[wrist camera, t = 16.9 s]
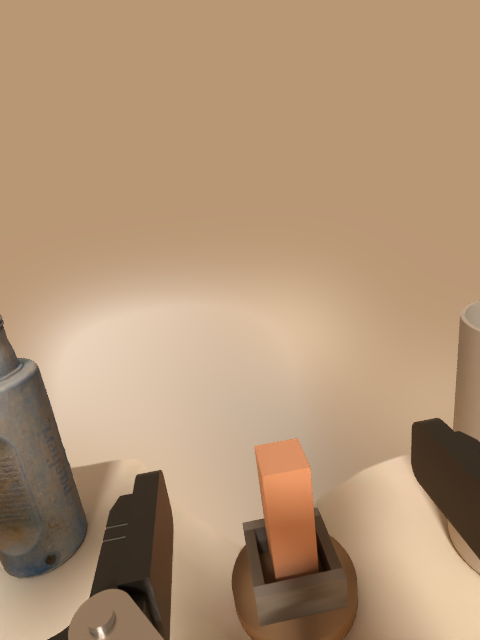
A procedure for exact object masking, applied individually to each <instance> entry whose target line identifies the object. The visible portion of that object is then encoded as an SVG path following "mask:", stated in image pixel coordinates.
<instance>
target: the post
mask: <svg viewBox="0 0 480 640" xmlns="http://www.w3.org/2000/svg"><path fill="white" fill-rule="evenodd" d="M255 454H256V461H257V469H258V476H259V484H260V491H261V498H262V505H263V513H264V520H265V528H266V535H267V542H268V549H269V557H270V563H271V567H272V572H273V576H274V581H275V582H280V581H284V580H289V579H293V578H298V577H303V576H307V575H312V574H316V573H319V567H318V555H317V543H316V531H315V519H314V507H313V495H312V484H311V471H310V466H309V463H308V461H307V459H306V457H305V454H304V452H303V450H302V447H301V445H300V443H299V440H298V439H291V440H286V441H280V442H275V443H269V444H264V445H259V446H255Z"/></svg>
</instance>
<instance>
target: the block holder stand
mask: <svg viewBox="0 0 480 640" xmlns="http://www.w3.org/2000/svg"><path fill="white" fill-rule="evenodd" d="M314 519H315V531H316V543H317V555H318V567H319V573H316V574H312V575H307V576H303V577H298V578H293V579H289V580H284V581H280V582H275V581H274V576H273V572H272V567H271V563H270V557H269V549H268V542H267V535H266V528H265V520H264V519H260V520H255V521H250V522H245V523H243V529H244V535H245V541H246V545H245V546H244V548H243V549H242V551H241V552H240V554H239V555H238V557H237V559H236V562H235V565H234V569H233V573H232V590H233V595H234V601H235V606H236V611H237V614H238V617H239V620H240V622H241V624H242V626H243V627H244V629H245V630H246V632H247V633H248V634H249V636H250V637H251V638H252V639H253V640H342V639H343V638H344V637H345V636H346V634H347V633H348V632H349V630H350V628H351V626H352V624H353V622H354V619H355V616H356V611H357V602H358V596H357V578H356V573H355V569H354V566H353V563H352V561H351V559H350V557H349V555H348V554H347V552H346V551H345V549H344V548H343V547H342V546H341V545H340V544H339V543H338V542H337V541H336V540H335V539H334V538H332V537H331V536H329V534H328V532H327V529H326V527H325V524H324V522H323V520H322V517H321V515H320V512H319V510H318V508H314Z"/></svg>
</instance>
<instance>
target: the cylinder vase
mask: <svg viewBox="0 0 480 640" xmlns="http://www.w3.org/2000/svg"><path fill="white" fill-rule="evenodd" d="M453 431H454V432H456V431H461V432H463V433H465V434H467V435H469V436H471V437H473V438H475V439H477V440H478V441H479V442H480V300H479V301H475V302H473V303H470V304H468V305H467V306H465V307H464V308H463V309H462V311H461V314H460V327H459V344H458V360H457V377H456V394H455V410H454V426H453ZM448 530H449V534H450V537H451V540H452V542H453V544H454V546H455V548H456V549H457V551H458V552H459V554H460V555H461V557H462V558H463V559H464V560H465V561H466V562H467V563H468V565H469V566H471V567H472V568H473V569H474V570H475V571H476V572H477V573H478V574H480V560H479V558H478V557H477V556H476V555H475V553H474V552H473V551H472V550H471V548H470V547H469V546H468V545H467V543H466V542H465V541H464V539H463V538H462V537H461V536H460V534H459V533H458V532H457V531H456V529H455V528H454V527H453V526H452V524H451V523H450V522H449V520H448Z"/></svg>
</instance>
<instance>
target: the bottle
mask: <svg viewBox="0 0 480 640" xmlns="http://www.w3.org/2000/svg"><path fill="white" fill-rule="evenodd" d="M3 324H4V323H3V320H2V316H1V315H0V560H1V562H2V564H3V566H4V569H5V571H6V572H7V573H8V574H9V575H12V576H15V577H18V578H30V577H35V576H39V575H42V574H44V573H47V572H49V571H51V570H53V569H55V568H57V567H58V566H59V565H61V564H62V563H64V562H65V561H66V560H67V559H69V558H70V557H71V556H72V555H73V554H74V552H75V551H76V550H77V549H78V547H79V546H80V544H81V543H82V541H83V539H84V537H85V534H86V530H87V520H86V516H85V513H84V510H83V507H82V504H81V500H80V498H79V494H78V491H77V488H76V485H75V482H74V479H73V475H72V472H71V468H70V464H69V462H68V460H67V457H66V453H65V449H64V447H63V444H62V442H61V437H60V434H59V431H58V427H57V424H56V421H55V417H54V414H53V411H52V407H51V404H50V401H49V398H48V395H47V392H46V389H45V386H44V383H43V380H42V377H41V373H40V370H39V368H38V366H37V364H36V363H35V362H34V361H32V360H30V359H25V358H17V357H16V355H15V352H14V350H13V348H12V346H11V344H10V343H9V341H8V339H7V337H6V333H5V330H4V327H3Z"/></svg>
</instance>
